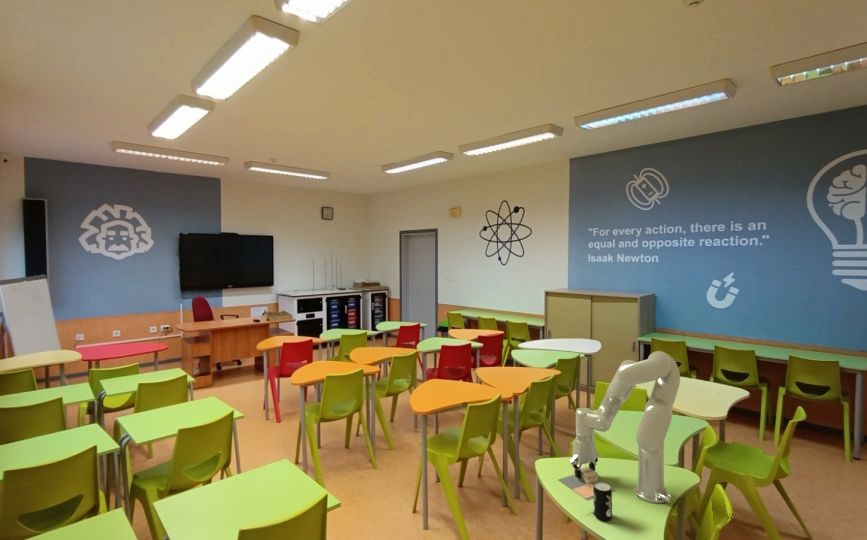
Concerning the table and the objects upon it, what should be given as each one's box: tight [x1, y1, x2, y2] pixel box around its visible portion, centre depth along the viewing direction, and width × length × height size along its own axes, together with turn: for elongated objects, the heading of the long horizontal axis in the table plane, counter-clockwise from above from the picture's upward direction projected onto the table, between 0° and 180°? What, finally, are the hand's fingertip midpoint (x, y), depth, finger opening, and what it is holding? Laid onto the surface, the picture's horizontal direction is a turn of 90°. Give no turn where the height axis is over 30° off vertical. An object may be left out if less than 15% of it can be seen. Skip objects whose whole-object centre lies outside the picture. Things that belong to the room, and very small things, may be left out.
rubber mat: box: [557, 474, 617, 501], centre depth 185 cm, size 18×16×1 cm
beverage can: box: [593, 481, 613, 522], centre depth 163 cm, size 7×7×12 cm
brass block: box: [572, 464, 599, 484], centre depth 191 cm, size 9×6×4 cm, turn 25°
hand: (585, 475), depth 191 cm, fingers open, 7 cm apart
